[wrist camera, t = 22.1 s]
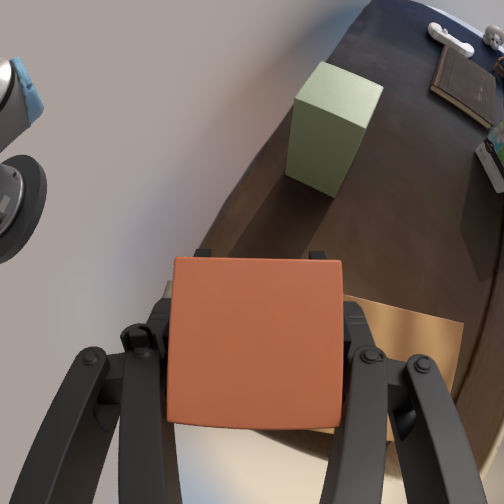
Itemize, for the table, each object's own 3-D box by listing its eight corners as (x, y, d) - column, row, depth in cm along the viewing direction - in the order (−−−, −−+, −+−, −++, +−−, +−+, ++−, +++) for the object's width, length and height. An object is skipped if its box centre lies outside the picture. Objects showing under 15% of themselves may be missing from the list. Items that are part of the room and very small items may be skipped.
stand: (334, 198, 44) (365, 129, 28) (284, 174, 45) (294, 97, 30) (353, 159, 46) (383, 87, 30) (306, 137, 47) (321, 60, 32)
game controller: (476, 46, 54) (475, 52, 50) (470, 57, 58) (468, 64, 54) (433, 18, 57) (427, 21, 53) (428, 30, 61) (422, 33, 57)
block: (213, 386, 17) (165, 422, 8) (216, 301, 18) (173, 255, 9) (300, 388, 17) (341, 428, 8) (302, 303, 18) (342, 259, 9)
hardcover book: (491, 83, 53) (495, 77, 51) (488, 131, 48) (493, 125, 46) (441, 49, 56) (444, 43, 54) (428, 90, 51) (432, 83, 49)
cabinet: (283, 407, 36) (290, 426, 26) (311, 303, 39) (327, 289, 30) (400, 426, 34) (435, 443, 24) (424, 330, 38) (464, 323, 28)
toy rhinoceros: (478, 46, 59) (488, 28, 51) (481, 35, 61) (490, 19, 53) (497, 60, 57) (508, 42, 49) (498, 48, 60) (507, 32, 52)
